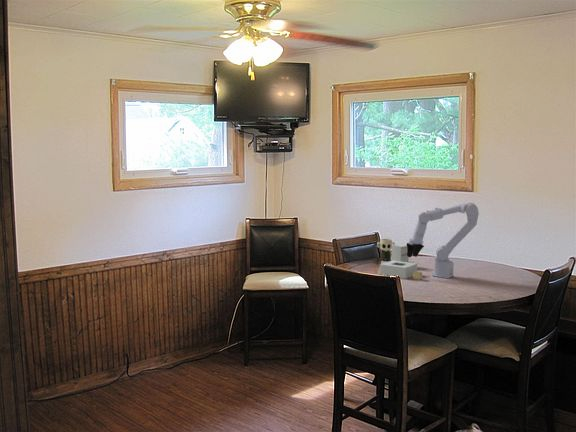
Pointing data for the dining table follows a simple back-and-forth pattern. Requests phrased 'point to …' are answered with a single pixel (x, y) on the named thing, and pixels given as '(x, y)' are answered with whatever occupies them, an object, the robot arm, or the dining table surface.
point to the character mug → (385, 248)
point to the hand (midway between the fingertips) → (411, 256)
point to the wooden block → (417, 275)
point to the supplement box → (399, 253)
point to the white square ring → (398, 268)
